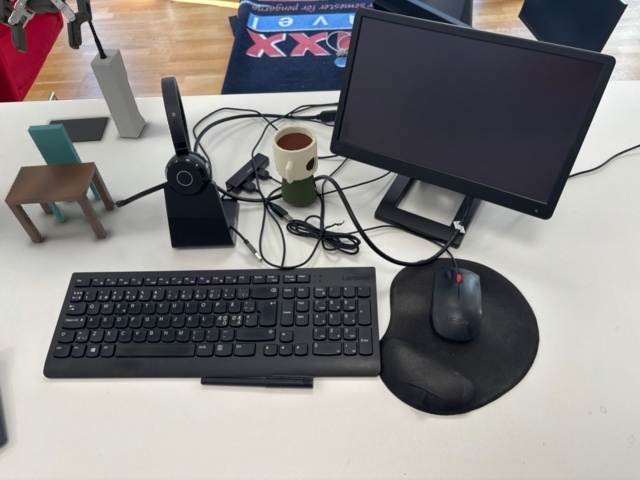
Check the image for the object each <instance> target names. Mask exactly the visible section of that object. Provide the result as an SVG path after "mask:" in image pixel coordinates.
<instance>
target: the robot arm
mask: <svg viewBox="0 0 640 480" xmlns="http://www.w3.org/2000/svg"><path fill="white" fill-rule="evenodd" d="M13 1H15V0H0V23H2V24H3V25H5V26H7V27H10V35H11V43H12V46H13V47H14V48H15V49H16V50H17V51H18V52H20V53H23V54H24V53H28V42H27V41H28V40H27V31H26V29H25V28H26V26H27V23H29V21H30V20H32V19H33V18H34V16H35V15H36V14H37V15H43V14H46V13H50V14H57V13H58V11H60V13H62V15H64V17H65V18H66V19H67V20H68V22H66V30H67V40H68V46H69V48H70V49H73V50H74V51H77V50H80V47H81V46H82V44H83V37H82V25H83V24H84V23H86V22H87V23H88V22H90V21H92V22H93V12H92V6H91V0H76V6H77V12H75V11H74V10H73V8H71V6H70V5H69V4H68V3H67V2H66V0H16V2H15V4H14V6H13ZM26 7H27V8H26ZM25 8H26V9H25Z"/></svg>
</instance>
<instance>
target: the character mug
mask: <svg viewBox="0 0 640 480" xmlns="http://www.w3.org/2000/svg"><path fill="white" fill-rule="evenodd" d="M317 139H318V138H317V134H316V132H315V131H314V130H313V129H312V128H310V127H308V126H305V125H301V124H289V125H286V126H283V127H281V128H279V129H277V130H276V131H275V133H274V134H273V135H272V139H271V141H272V151H273V152H272V153H273V159H274V166H275V171H276V172H277V174H278V175H279V177H281V197H282V200H283V201H284V202H285V203H286V204H287V205H291V206H295V207H306V206H309V205H312V204H313V202H315V201H316V200H317V192H318V187H317V183H316V179H315V177H314V174H316V172H317V171H318V168H319V157H318V155H319V153H318V140H317Z"/></svg>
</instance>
